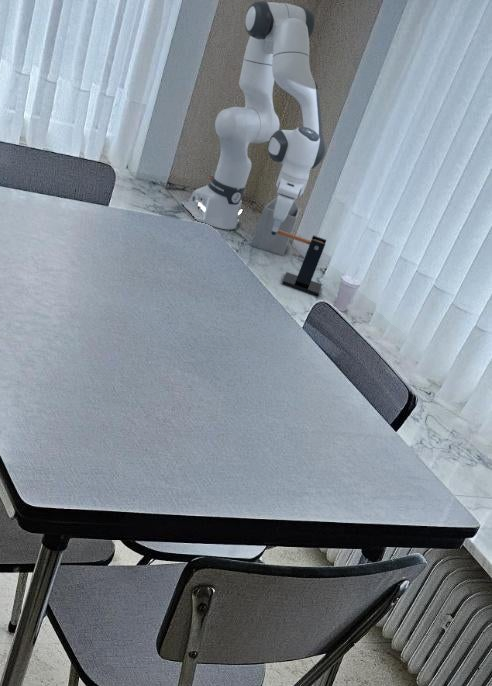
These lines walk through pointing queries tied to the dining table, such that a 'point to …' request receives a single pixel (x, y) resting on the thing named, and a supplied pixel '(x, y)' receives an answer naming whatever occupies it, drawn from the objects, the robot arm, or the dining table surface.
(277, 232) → the lever
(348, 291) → the smoothie
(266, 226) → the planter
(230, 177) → the robot arm
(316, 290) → the bracket
